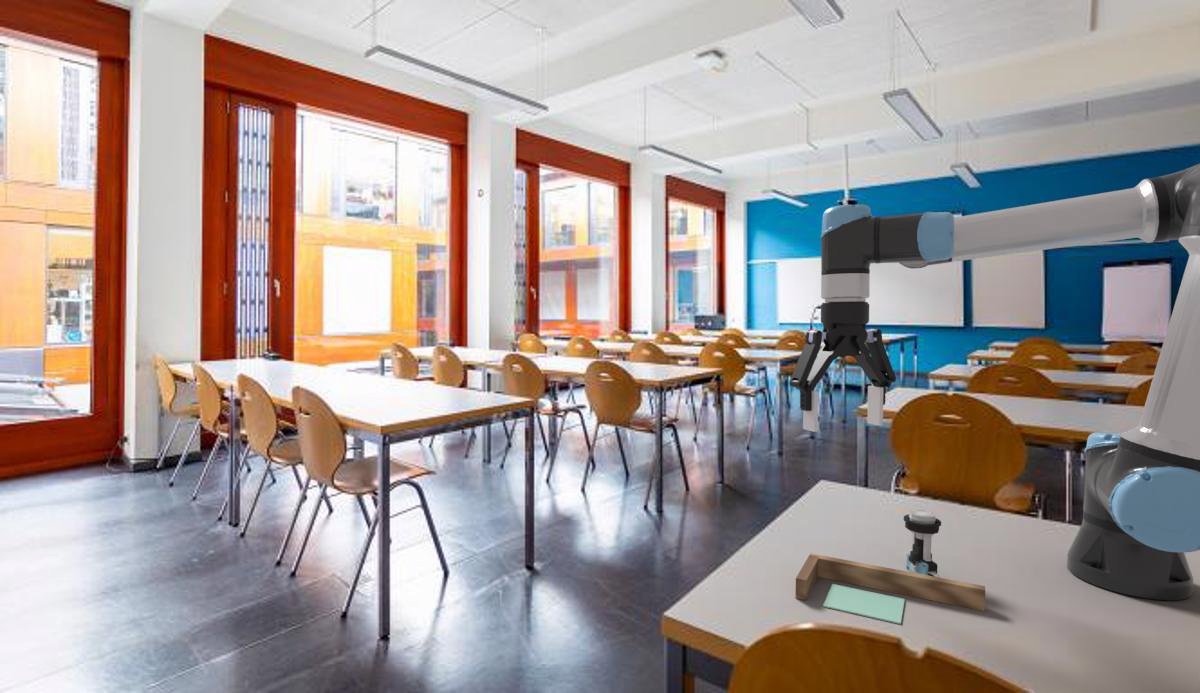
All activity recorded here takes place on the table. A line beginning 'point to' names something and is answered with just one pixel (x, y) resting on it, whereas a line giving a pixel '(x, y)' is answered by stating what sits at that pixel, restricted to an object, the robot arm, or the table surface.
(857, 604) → the pad
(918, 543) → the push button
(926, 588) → the wooden l-shaped wall
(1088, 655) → the table surface
